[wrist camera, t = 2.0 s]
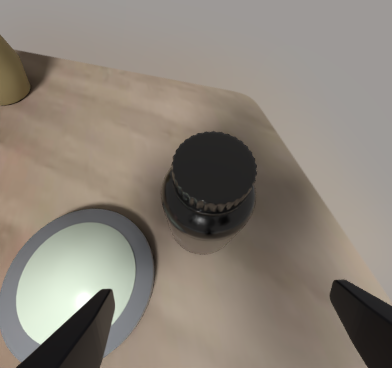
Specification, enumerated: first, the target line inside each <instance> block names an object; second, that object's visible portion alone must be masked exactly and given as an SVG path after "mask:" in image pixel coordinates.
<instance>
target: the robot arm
mask: <svg viewBox="0 0 392 368" xmlns="http://www.w3.org/2000/svg"><path fill="white" fill-rule="evenodd" d="M330 300H331V303H332V305H333V306H334V308H335V310H336V312H337V314H338V316H339V318H340V320H341V322H342V324H343V326H344V328H345V330H346V331H347V333H348V335H349V337H350V339H351V341H352V343H353V344H354V346H355V348H356V349H357V351H358V353H359V354H360V356H361V357H362V359H363V361H364V362H365V364H366V365H367V367H368V368H392V306H391V305H389V304H387V303H385V302H384V301H382V300H380V299H378V298H377V297H375V296H373V295H371V294H370V293H368V292H366V291H364V290H363V289H361V288H359V287H357V286H355V285H354V284H352V283H350V282H348V281H347V280H334V281H333V284H332V288H331V292H330ZM114 311H115V300H114V295H113V290H112V289H101V290H100V291H98V292H97V293H96V294H95V295H94V296H93V297H92V298H91V299H90V300H89V301H88V302H86V303H85V304H84V305H83V306H82V307H81V308H80V309H79V310H78V311H77V312H76V313H75V314H73V315H72V316H71V317H70V318H69V319H68V320H67V321H66V322H65V323H64V324H63V325H62V326H60V327H59V328H58V329H57V330H56V331H55V332H54V333H53V334H52V335H51V336H50V337H49V338H47V339H46V340H45V341H44V342H43V343H42V344H41V345H40V346H39V347H38V348H37V349H36V350H34V351H33V352H32V353H31V354H30V355H29V356H28V357H27V358H26V359H25V360H24V361H23V362H21V363H20V364H19V365H18V366H17V367H16V368H100V365H101V362H102V359H103V356H104V352H105V348H106V344H107V340H108V336H109V332H110V328H111V324H112V320H113V316H114Z"/></svg>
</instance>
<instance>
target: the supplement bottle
mask: <svg viewBox="0 0 392 368" xmlns="http://www.w3.org/2000/svg"><path fill="white" fill-rule="evenodd" d="M256 167H257V165H256V164H255V158H254V157H253V156H252V152H251V151H250V150H249V149H248V147H247V146H246V145H244V144H243V142H242V141H240V140H238V139H237V138H236V137H233V136H230V135H229V134H224V133H222V132H214V131H213V132H204V133H198V134H197V135H193V136H191V137H190V138H189V139H186V140H185V141H184V143H182V144H180V146H179V148H178V149H177V150H176V154H175V155H174V156H173V162H172V167H171V168H170V169H169V171H168V172H167V174H166V176H165V178H164V180H163V184H162V189H161V199H162V205H163V209H164V212H165V215H166V218H167V221H168V224H169V227H170V230H171V232H172V235H173V237H174V239H175V240H176V241H177V243H178V244H179V245H180V246H181V247H182V248H184V249H185V250H187V251H189V252H192V253H195V254H210V253H214V252H216V251H218V250H220V249H221V248H223V247H224V246H225V245H226V244H227V243H228V242H229V241H230V240H231V239H232V238H233V237H234V236H235V235H236V234H237V233H238V232H239V231H240V230H241V229H242V228H243V227H244V226H245V225H246V223H247V222H248V220H249V219H250V217H251V215H252V213H253V211H254V207H255V202H256V192H255V187H254V183H255V177H256V175H257V172H256Z"/></svg>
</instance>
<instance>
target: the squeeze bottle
mask: <svg viewBox="0 0 392 368" xmlns="http://www.w3.org/2000/svg"><path fill="white" fill-rule="evenodd" d="M30 87H31V86H30V84H29V81H28V78H27V76H26V73H25V70H24V68H23V65H22V62H21V60H20V57H19V56H18V54H17V53H16V52H15V51H14V50H13V49H12V48H11V47H10V45H9V44H8V43H7V42H6V41H5V40H4V38H3V37H2V36H1V35H0V105H9V104H12V103H15V102H18V101H19V100H21V99H22V98H24V97H25V96H26V95H27V94H28V93H29V91H30Z"/></svg>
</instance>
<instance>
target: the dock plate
mask: <svg viewBox="0 0 392 368" xmlns="http://www.w3.org/2000/svg"><path fill="white" fill-rule="evenodd" d="M154 276H155V267H154V259H153V254H152V251H151V248H150V245H149V243H148V241H147V239H146V238H145V236H144V234H143V233H142V232H141V231H140V229H139V228H138V227H137V226H136V225H135V224H134V223H133V222H132V221H130V220H129V219H128V218H126V217H125V216H123V215H121V214H118V213H116V212H113V211H110V210H104V209H84V210H79V211H75V212H72V213H69V214H66V215H64V216H61V217H59V218H57V219H55V220H54V221H52V222H50V223H49V224H47V225H46V226H44V227H43V228H41V229H40V230H39V231H38V232H37V233H36V234H34V235H33V236H32V237H31V238H30V239H29V240H28V241H27V242H26V244H25V245H24V246H23V247H22V248H21V250H20V251H19V252H18V254H17V255H16V257H15V258H14V260H13V262H12V263H11V265H10V267H9V269H8V271H7V274H6V276H5V279H4V281H3V284H2V288H1V292H0V330H1V334H2V337H3V339H4V341H5V343H6V345H7V347H8V348H9V350H10V351H11V353H12V354H13V355H14V356H15V357H16V358H17V359H18V360H19V361H20V362H23V361H24V360H25V359H26V358H27V357H28V356H29V355H30V354H31V353H32V352H33V351H34V350H36V349H37V348H38V347H39V346H40V345H41V344H42V343H43V342H44V341H45V340H46V339H47V338H49V337H50V336H51V335H52V334H53V333H54V332H55V331H56V330H57V329H58V328H59V327H60V326H62V325H63V324H64V323H65V322H66V321H67V320H68V319H69V318H70V317H71V316H72V315H73V314H75V313H76V312H77V311H78V310H79V309H80V308H81V307H82V306H83V305H84V304H85V303H86V302H88V301H89V300H90V299H91V298H92V297H93V296H94V295H95V294H96V293H97V292H98V291H100V290H101V289H112V290H113V295H114V300H115V311H114V316H113V320H112V324H111V328H110V332H109V336H108V340H107V344H106V348H105V352H104V356H103V358H104V357H105V356H107V355H108V354H109V353H110V352H112V351H113V350H114V349H115V348H117V347H118V346H119V345H120V344H121V343H122V342H123V341H124V340H125V339H126V338H127V337H128V336H129V335H130V334H131V333H132V331H133V330H134V329H135V327H136V326H137V325H138V323H139V321H140V320H141V318H142V317H143V315H144V312H145V310H146V308H147V306H148V303H149V301H150V298H151V294H152V290H153V285H154Z"/></svg>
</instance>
